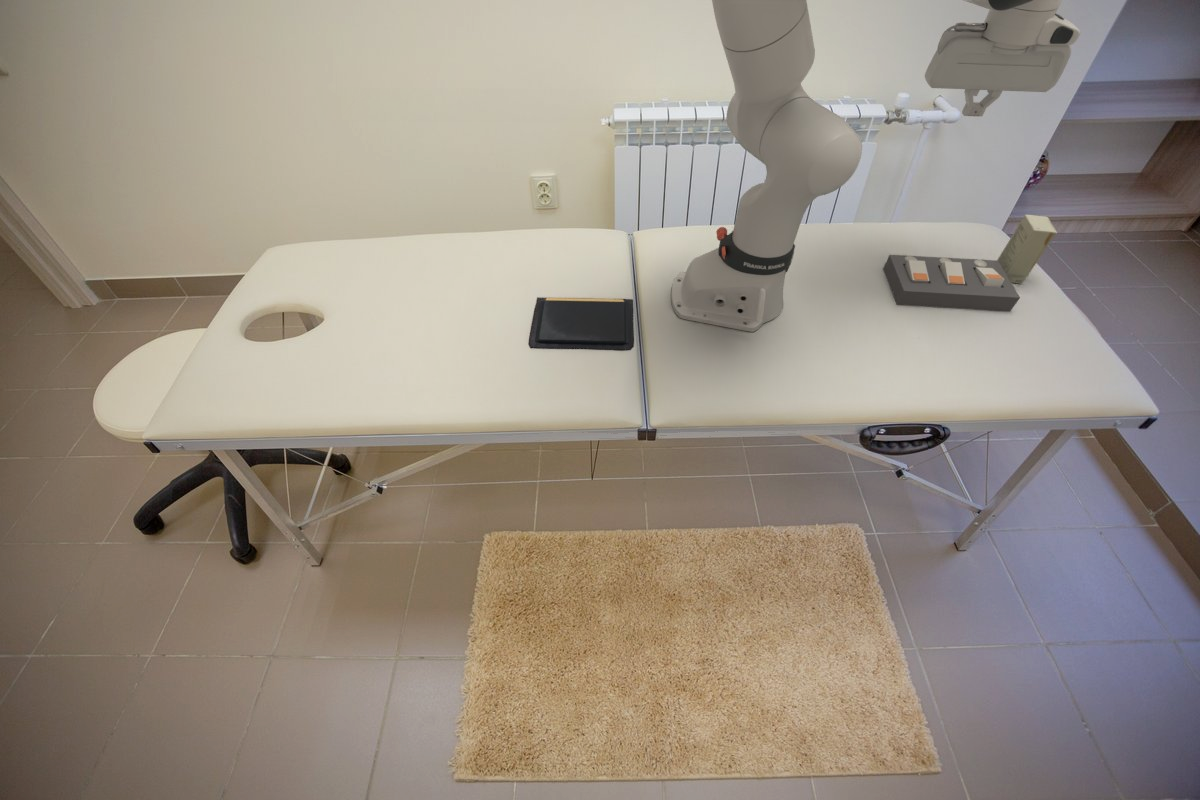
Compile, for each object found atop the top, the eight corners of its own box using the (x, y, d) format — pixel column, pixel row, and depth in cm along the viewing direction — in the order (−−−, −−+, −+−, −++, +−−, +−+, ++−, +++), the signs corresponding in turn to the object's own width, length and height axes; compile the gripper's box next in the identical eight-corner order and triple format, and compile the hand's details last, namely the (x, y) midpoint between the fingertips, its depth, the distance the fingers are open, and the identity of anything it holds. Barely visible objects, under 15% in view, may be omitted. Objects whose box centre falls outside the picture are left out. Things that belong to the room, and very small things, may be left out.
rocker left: (908, 285, 115) (913, 279, 113) (904, 266, 117) (908, 259, 116) (925, 286, 115) (929, 280, 113) (920, 266, 117) (925, 260, 115)
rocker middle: (943, 288, 115) (948, 282, 113) (939, 266, 117) (945, 261, 115) (959, 289, 114) (965, 283, 113) (955, 267, 116) (961, 262, 115)
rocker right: (983, 286, 113) (987, 277, 112) (972, 275, 117) (976, 266, 116) (1000, 287, 113) (1004, 278, 112) (988, 276, 117) (992, 267, 116)
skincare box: (1022, 284, 118) (1058, 233, 109) (1000, 282, 119) (1034, 231, 110) (1014, 266, 123) (1048, 215, 113) (992, 263, 123) (1025, 213, 114)
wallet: (525, 343, 105) (536, 290, 115) (526, 350, 106) (537, 298, 116) (633, 347, 104) (635, 294, 114) (633, 355, 106) (635, 302, 115)
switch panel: (896, 304, 114) (904, 290, 111) (883, 268, 122) (889, 254, 119) (1010, 311, 113) (1020, 297, 110) (988, 274, 121) (998, 260, 118)
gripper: (953, 28, 88) (915, 120, 98) (1092, 33, 86) (1038, 125, 97) (941, 15, 92) (906, 105, 102) (1073, 19, 90) (1023, 109, 101)
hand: (971, 115), depth 100 cm, fingers closed
